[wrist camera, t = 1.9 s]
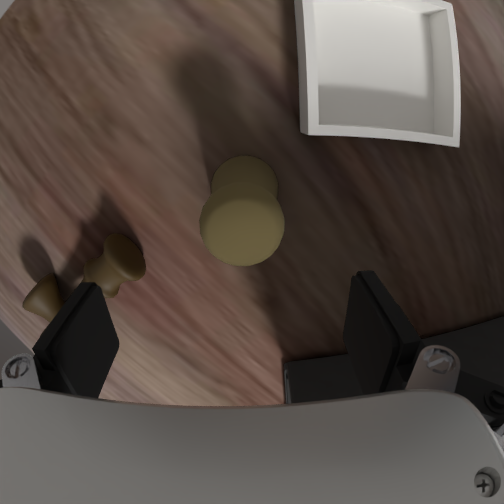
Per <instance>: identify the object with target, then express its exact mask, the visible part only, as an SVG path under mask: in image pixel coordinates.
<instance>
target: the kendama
mask: <svg viewBox="0 0 504 504" xmlns="http://www.w3.org/2000/svg"><path fill="white" fill-rule="evenodd" d="M145 271H146V264H145V259H144V257H143V255H142V253H141V251H140V250H139V249H138V247H137V246H136V245H135V244H134V243H133V242H132V241H131V240H130V239H129V238H127V237H125V236H124V235H122V234H116V233H113V234H111V235H109V236H108V237H107V238H106V240H105V242H104V253H103V254H102V255H101V256H100V257H99V258H97V259H95V258H92V259H90V260H88V261H87V262H86V263H85V265H84V278H83V280H82V281H81V283H82V282H95V283H96V284H97V285H98V286H100V287H101V289H102V292H103V295H104V297H105V298H113V297H114V296H115V295H117V293H118V290H119V286H120V284H122V283H123V282H125V281H127V280H128V281H137V280H139V279H140V278H142V277H143V276H144V274H145ZM64 304H65V302H64V300H63V298H62V297H61V294H60V292H59V288H58V285H57V281H56V278H55V276H54V274H49V275H47V276H45V277H44V278H43V279H42V280H41V281H40V282H38V283H37V285H36V286H35V287H34V288H33V289H32V290H31V291H30V292H29V294H28V295H27V296H26V298H25V300H24V301H23V308H24V309H25V310H27V311H29V312H32V313H34V314H37V315H39V316H41V317H43V318H45V319H46V320H47V321H49V322H50V323H51V321H52V320H53V318H54V317H55V316H56V314H57V313H58V312H59V310H60V309H61V308H62V306H63V305H64ZM47 327H48V326H47ZM47 327H46V328H47ZM44 331H45V330H44ZM44 331H43V332H44ZM43 332H42V334H43ZM42 334H41V335H42ZM40 337H41V336H40Z"/></svg>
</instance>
